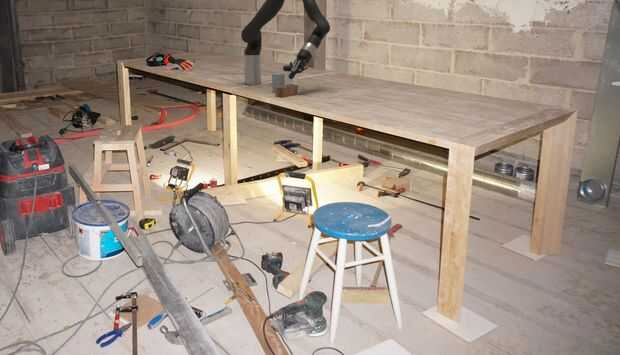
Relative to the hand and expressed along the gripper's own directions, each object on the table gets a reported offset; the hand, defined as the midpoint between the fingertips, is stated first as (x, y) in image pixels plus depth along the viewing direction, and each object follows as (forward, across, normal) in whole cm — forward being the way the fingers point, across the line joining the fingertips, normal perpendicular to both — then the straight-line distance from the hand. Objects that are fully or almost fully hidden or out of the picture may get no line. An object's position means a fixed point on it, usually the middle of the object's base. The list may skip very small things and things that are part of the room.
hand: (290, 78), depth 296 cm
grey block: (+6, -11, +7) cm, 14 cm away
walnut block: (+2, 0, +7) cm, 7 cm away
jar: (-5, -18, +18) cm, 26 cm away
